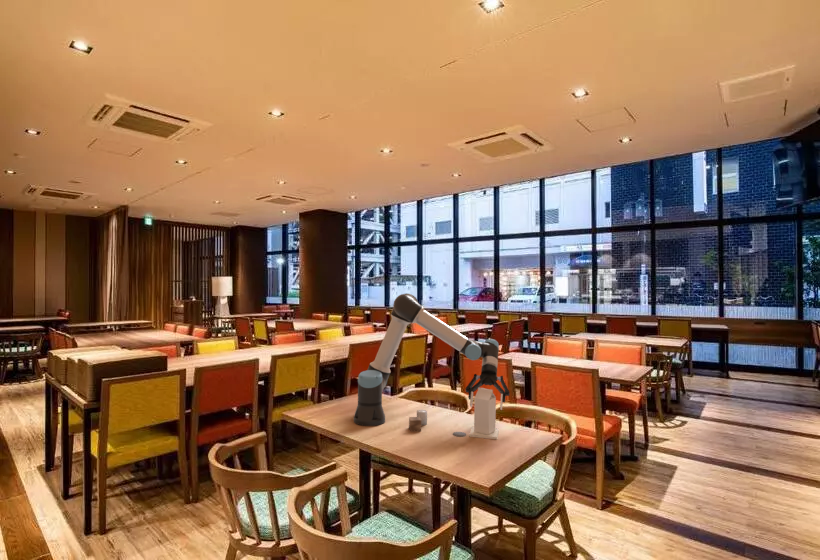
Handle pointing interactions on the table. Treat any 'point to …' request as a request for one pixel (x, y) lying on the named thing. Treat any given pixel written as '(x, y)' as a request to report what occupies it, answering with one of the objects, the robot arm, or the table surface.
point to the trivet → (480, 435)
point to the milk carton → (485, 411)
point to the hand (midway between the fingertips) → (485, 406)
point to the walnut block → (415, 423)
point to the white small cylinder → (422, 416)
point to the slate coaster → (459, 434)
